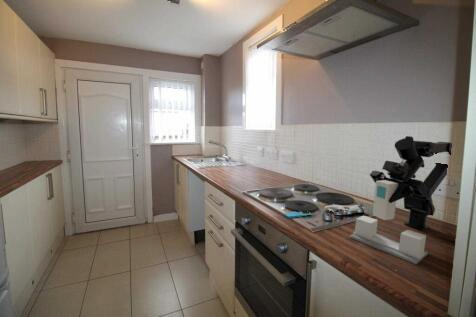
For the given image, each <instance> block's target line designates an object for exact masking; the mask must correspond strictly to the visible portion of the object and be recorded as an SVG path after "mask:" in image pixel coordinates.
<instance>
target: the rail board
mask: <svg viewBox="0 0 476 317" xmlns="http://www.w3.org/2000/svg"><path fill="white" fill-rule="evenodd" d="M377 229H378V219H375V218H373V217H370V216H366V215H362V216H359V217H357V218H355V228H354V232H353V233H352V234H350V235H349V238H350V239H352V240H355V241H358V242H360V243H363V244H365V245H367V246H369V247H372V248H375V249H376V250H379V251H382V252H385V253H387V254H390V255H391V256H394V257H397V258H398V259H402V260H404V261H406V262H409V263H412V264H415V265H417V264H418V263H420V262H421V261H422V260H423V259H424V258H426V257H427V255H428V254H429V251H426V250H425V246H426V240H427V235H426V234H423V233H419V232H418V231H417V232H416V231H413V230H410V229H406V230H404V231H402V232H400V237H399V238H400V239H399V240H396V239H393V238H390V237H388V236H385V235H382V234H379V233H377Z"/></svg>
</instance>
